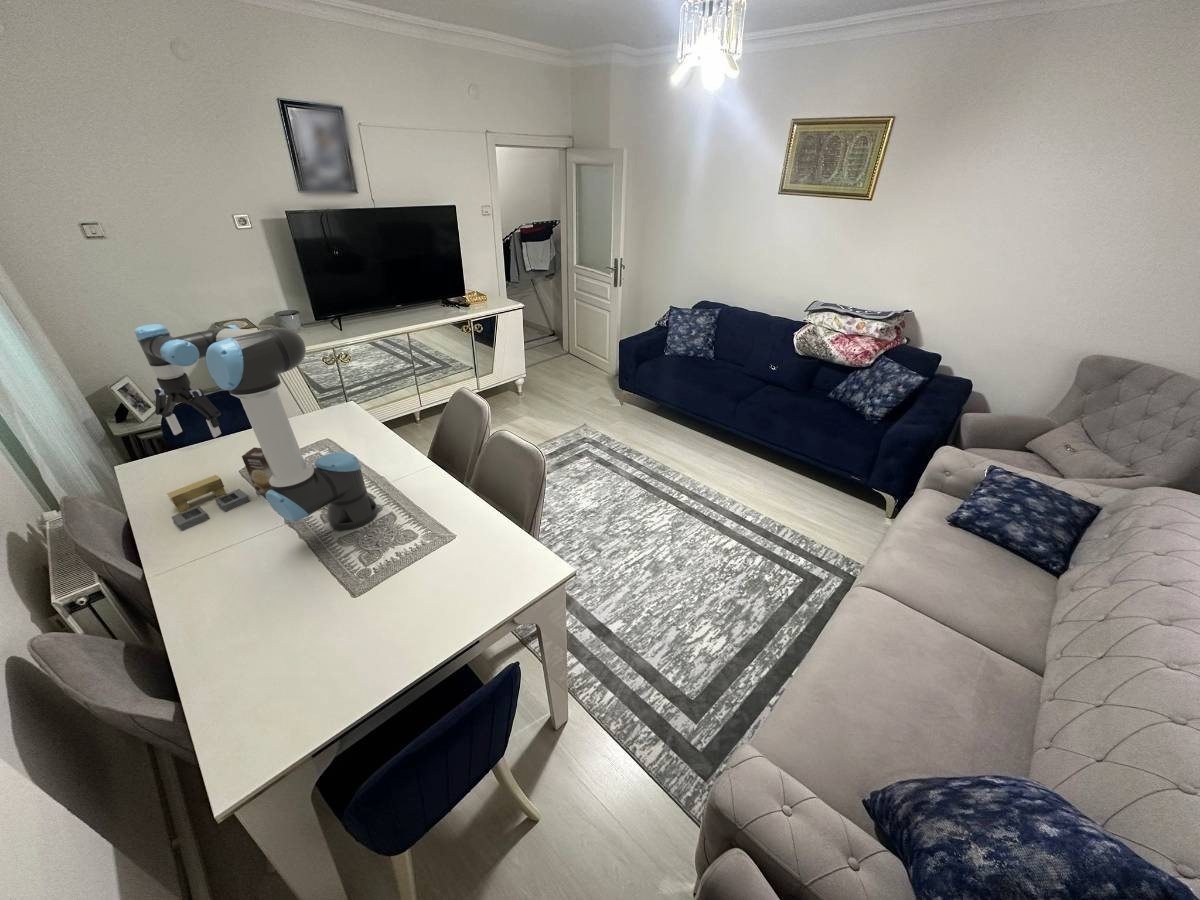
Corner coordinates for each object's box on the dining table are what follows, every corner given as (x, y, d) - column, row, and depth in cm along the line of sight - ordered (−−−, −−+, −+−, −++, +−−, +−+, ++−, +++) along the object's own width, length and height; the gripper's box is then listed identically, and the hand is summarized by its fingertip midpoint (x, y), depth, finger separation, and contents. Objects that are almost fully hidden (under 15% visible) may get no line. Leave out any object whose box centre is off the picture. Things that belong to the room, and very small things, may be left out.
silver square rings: (250, 501, 168) (248, 495, 167) (182, 530, 154) (179, 524, 153) (241, 494, 172) (239, 488, 170) (174, 522, 157) (171, 516, 156)
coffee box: (255, 494, 172) (239, 456, 164) (268, 484, 177) (253, 447, 169) (280, 496, 171) (264, 458, 163) (291, 486, 176) (277, 448, 168)
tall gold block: (227, 493, 172) (220, 478, 169) (179, 513, 162) (171, 497, 158) (222, 489, 174) (216, 474, 171) (175, 509, 164) (166, 493, 160)
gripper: (218, 372, 153) (241, 430, 164) (143, 368, 154) (171, 426, 165) (200, 381, 147) (225, 441, 157) (121, 377, 147) (152, 437, 158)
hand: (197, 434), depth 161 cm, fingers open, 13 cm apart
